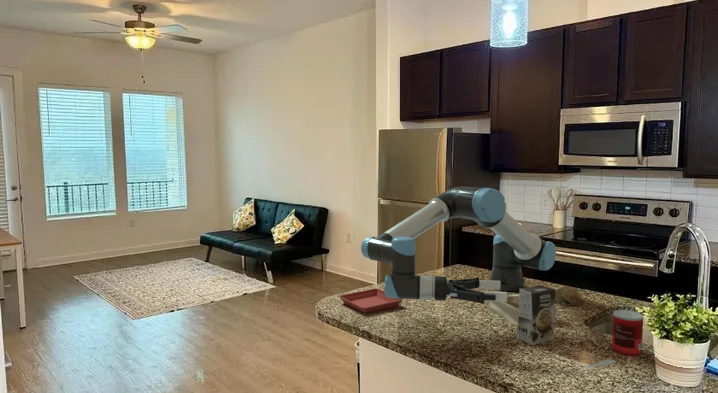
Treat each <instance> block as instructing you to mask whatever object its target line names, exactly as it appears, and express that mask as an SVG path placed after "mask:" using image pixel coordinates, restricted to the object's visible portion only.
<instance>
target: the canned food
mask: <svg viewBox="0 0 718 393" xmlns="http://www.w3.org/2000/svg"><path fill="white" fill-rule="evenodd" d="M643 332H644V315H643V314H641V313H639V312H637V311H633V310H629V309H628V310H627V309H618V310H614V311H613V313H612V332H611V333H612V334H611V336H612V338H611V347H612V350H613V351H614V352H615V353H617V354H619V355H623V356H629V357H636V356H639V355H641V354H642V350H643V348H642V346H643Z"/></svg>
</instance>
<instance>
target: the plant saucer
mask: <svg viewBox="0 0 718 393" xmlns="http://www.w3.org/2000/svg"><path fill="white" fill-rule="evenodd" d="M338 297H339V298H340V300H341V301H342V302H343V303H344V304H345V305H347V306H349V307H351V308H354V309H355V310H357V311H358V312H359V311H360V312H361V313H363V314H367V313H373V312H378V311H382V310H386V309H393V308H396V307H398V306H399V305H400V304H401V303H402V301H403V300H404V299H397V298H388V297H387V296H386V295H385V290H381V289H379V288H372V289H366V290H362V291H356V292H352V293H346V294H342V295H341V294H340V295H339V296H338Z"/></svg>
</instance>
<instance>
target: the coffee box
mask: <svg viewBox="0 0 718 393" xmlns="http://www.w3.org/2000/svg"><path fill="white" fill-rule="evenodd" d="M555 291H556V289H555V288H552V287H547V286H544V285H540V284H539V285H533V286H527V287H526V286H525V288H520V291H519V321H518V325H517V339H518V340H520V341H522V342H525V343H527V344H529V345H532V346H536V345H540V344H542V343H547V342H551V341H554V339H555V338H554V337H555V336H554V335H555V334H554V333H555V332H554V331H555V321H554V310H555V306H556V305H555V304H556V301H555Z"/></svg>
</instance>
